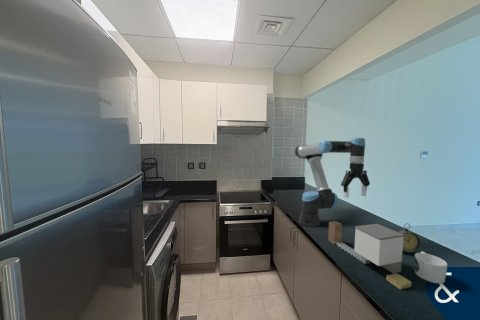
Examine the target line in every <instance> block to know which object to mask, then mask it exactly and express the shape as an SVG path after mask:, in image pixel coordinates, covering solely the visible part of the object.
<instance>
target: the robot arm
mask: <svg viewBox="0 0 480 320" xmlns="http://www.w3.org/2000/svg"><path fill="white" fill-rule="evenodd" d="M365 150H366V138H365V137H352V138H350V141H347V140H346V141H345V140H342V141H341V140H339V141H338V140H335V141H333V140H322V141H320V142H317V143H312V144H308V145H307V144H299V145H298V146H296V148H295V149H294V155H295V156H296V157H297V158H298V159H303V160H305V159H306V161H307V163H309V165H310V169H311V172H312V176H313V180H314V183H315V186H316V191H313V190H309V191H305V192H303V193H302V198H301V213H300V215H299V219H298V223H299V224H300V225H303V226H304V227H305V226H306V227H310V228H311V227H312V228H314V227H319V226H321V219H320V215H319V210H327V209H329V210H330V209H335V208H336V206H337V205H338V203H339V199H338V195H337V194H336V193H335V192H333V191H332V189H331V188H330V187H329V184H328V181H327V178H326V174H325V171H324V168H323V166H322V165H323V164H322V161H321V160H323V159H322V158H323V154H328V153H331V154H332V153H335V154H336V153H338V154H339V153H342V154H343V153H344V154H345V153H346V154H349V155H350V157H349V162H350V163H349V169H350V170H346V171H345V174H344V175H343V176H344V177H343V179H342V181H341V183H340V186H342V187H343V197H344V198H349V193H350V191H349V190H350V187H349V186H350V184H351V183H352V181H353V180H354V179H359V181H360V183H361V194H360V196H362V197H367V190H368V187H369V186H370V185H371V182H370V180H369V176H368V174H367V173H368V171H367V170H364V168H365V152H366V151H365Z"/></svg>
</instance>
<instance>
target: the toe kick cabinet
mask: <svg viewBox="0 0 480 320" xmlns="http://www.w3.org/2000/svg"><path fill="white" fill-rule="evenodd" d="M354 228H355V233H354V248H353V249H354V251H355V252H357V253H358V254H360V255H362V256H363V257H365V258H366V259H368V260H370V263H373V264H375V265H376V266H378V267H382V268H383V269H385V270H386V271H388V272H390V273H391V274H395V273H397V274H398V273H401V272H402V263H403V252H404V251H403V238H404V234H401V233H399V231H396V230H394V229H391V228H389V227H386V226H384V225H381V224H379V223H371V224H364V225H355V227H354Z"/></svg>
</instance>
